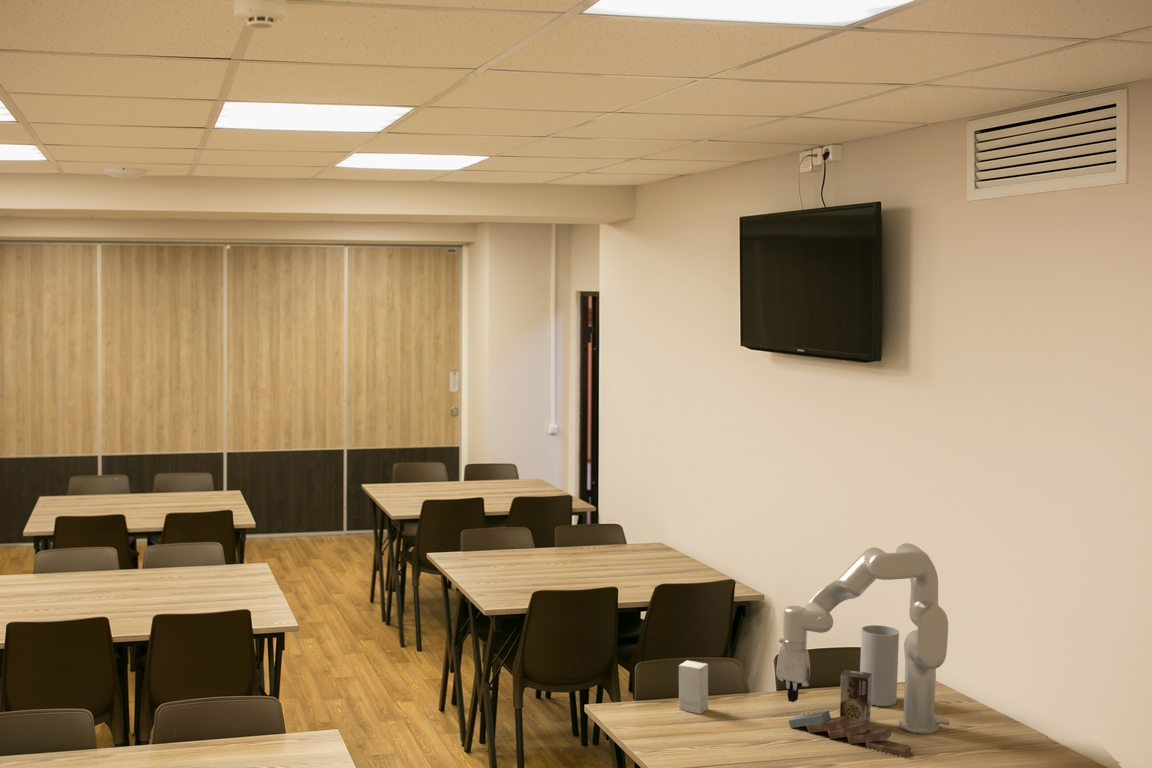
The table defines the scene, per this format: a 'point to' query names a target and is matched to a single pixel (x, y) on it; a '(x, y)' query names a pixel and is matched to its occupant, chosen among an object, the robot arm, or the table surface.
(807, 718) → the tile
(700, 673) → the skincare box
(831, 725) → the domino
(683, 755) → the table surface
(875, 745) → the domino
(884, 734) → the domino
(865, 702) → the coffee box
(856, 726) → the domino
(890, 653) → the cylinder vase
